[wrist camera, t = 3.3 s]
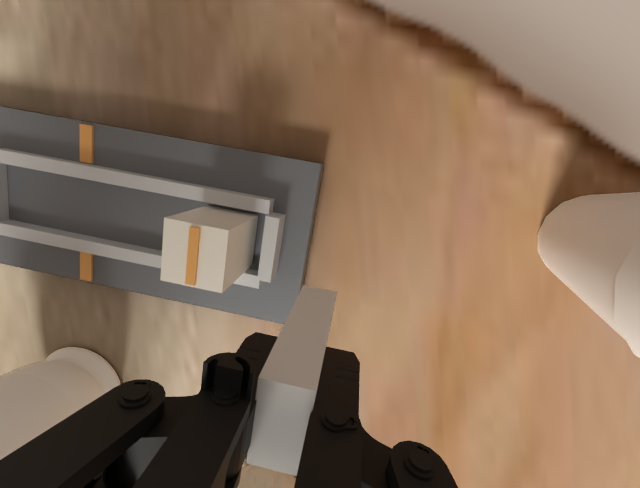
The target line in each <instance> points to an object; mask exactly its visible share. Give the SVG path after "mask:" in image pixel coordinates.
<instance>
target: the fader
mask: <svg viewBox="0 0 640 488" xmlns="http://www.w3.org/2000/svg"><path fill="white" fill-rule="evenodd" d="M257 223H258V215H255V214H250V213H245V212H239V211H234V210H229V209H224V208H219V207H213V206H208V205H207V206H204V207H200V208H197V209H193V210H189V211H186V212H182V213H179V214H175V215H172V216H168V217H164V226H163V243H162V260H161V277H160V280H161V281H166V282H171V283H176V284H180V285H185V286H190V287H194V288H199V289H204V290H209V291H213V292H218V293H223V292H224V291H225V290H226V289H227V288H228V287H229V286H230V285H231V284H232V283H234V282H235V281H236V280H237V279H238V278H239V277H240V276H241V275H242V274H243V273H244V272H245V271H246V270H247V269H248V268H250V267H251V266H252V262H253V254H254V246H255V239H256V231H257Z"/></svg>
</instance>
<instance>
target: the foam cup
mask: <svg viewBox="0 0 640 488" xmlns="http://www.w3.org/2000/svg"><path fill="white" fill-rule="evenodd" d="M537 236H538V253H539V255H540V256H541V258H542V260H543V262H544V263H545V265H546V267H548V268H549V269H550V271H551V272H552V273H554V274H555V275H556V276H557V277H558V278H559V279H560V280H561V281H562V282H563V283H564V284H565V285H566V286H568V287H569V288H570V289H571V290H572V291H573V292H574V293H575V294H576V295H577V296H578V297H579V298H581V299H582V300H583V301H584V302H585V303H586V304H587V305H588V306H589V307H590V308H591V309H592V310H593V311H595V312H596V313H597V314H598V315H599V316H600V317H601V318H602V319H603V320H604V321H605V322H606V323H608V324H609V325H610V326H611V327H612V328H613V329H614V330H615V331H616V332H617V333H618V334H619V335H620V336H622V337H623V338H624V339H625V340H626V341H627V343H628V345H629V346H630V348H631V350H632V352H633V353H634V354H635V355H636V356H638V357H639V358H640V192H631V193H614V194H596V195H587V196H580V197H577V198H574V199H571V200H568V201H565V202H562V203H561V204H560V205H558V206H557V207H556V208H555V209H554V210H553V211H551V212H550V213H549V214H548V215H547V216H546V217H545V219H544V221H543V223H542V225H541V227H540V230H539V232H538V234H537Z"/></svg>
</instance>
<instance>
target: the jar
mask: <svg viewBox="0 0 640 488" xmlns="http://www.w3.org/2000/svg"><path fill="white" fill-rule="evenodd" d="M119 385H121V384H120V380H119V378H118V376H117V374H116V372H115V370H114V369H113V368H112V366H111V365H110V364H109V363H108V362H107V361H106V360H105V359H104V358H102V357H101V356H99V355H98V354H96V353H94V352H92V351H90V350H87V349H84V348H79V347H66V348H61V349H58V350H56V351H54V352H53V353H51V354H50V355H49V356H48V357H47V358H46V359H45V360H44V362H38V363H34V364H30V365H27V366H24V367H21V368H18V369H16V370H13V371H11V372H9V373H6V374H4V375H2V376H0V460H1V459H2V458H4V457H6V456H7V455H9V454H10V453H12V452H13V451H15V450H17V449H18V448H20V447H21V446H23V445H25V444H26V443H28V442H29V441H31V440H32V439H34V438H36V437H37V436H39V435H40V434H42V433H43V432H45V431H47V430H48V429H50V428H51V427H53V426H54V425H56V424H58V423H59V422H61V421H62V420H64V419H66V418H67V417H69V416H70V415H72V414H73V413H75V412H77V411H78V410H80V409H81V408H83V407H84V406H86V405H88V404H89V403H91V402H92V401H94V400H96V399H97V398H99V397H100V396H102V395H103V394H105V393H107V392H108V391H110V390H111V389H113V388H114V387H116V386H119Z"/></svg>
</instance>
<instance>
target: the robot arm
mask: <svg viewBox="0 0 640 488" xmlns="http://www.w3.org/2000/svg"><path fill="white" fill-rule="evenodd" d="M336 295H337V292H334V291H330V290H325V289H320V288H315V287H310V286H306V285H303V286H302V288H301V290H300V293H299V295H298V297H297V299H296V301H295V303H294V305H293V307H292V309H291V311H290V313H289V315H288V317H287V319H286V321H285V323H284V325H283V328H282V330H281V332H280V334H279V336H278V337H276V336H271V335H266V334H262V333H257V332H255V333H254V334H252V335H250V336H249V337H247V338H245V340H244V341H243V343H242V344H241V346H240V348H239V349H238V350H237V352H236V353H229V352H228V353H220V354H216V355H214V356H211V357H209V358H208V359H207V360H206V361H204V362H203V373H202V384H201V391H200V392H199V393H198V394H197V395H193V396H186V397H165V391H164V388H163V386H161V385H160V384H159V383H157V382H155V381H151V380H133V381H129V382H125V383H123V384H121V385H119V386H116V387H114V388H113V389H111V390H110V391H108V392H107V393H105V394H103V395H102V396H100V397H99V398H97V399H96V400H94V401H92V402H91V403H89V404H88V405H86V406H84V407H83V408H81V409H80V410H78V411H77V412H75V413H73V414H72V415H70V416H69V417H67V418H66V419H64V420H62V421H61V422H59V423H58V424H56V425H54V426H53V427H51V428H50V429H48V430H47V431H45V432H43V433H42V434H40V435H39V436H37V437H36V438H34V439H32V440H31V441H29V442H28V443H26V444H25V445H23V446H21V447H20V448H18V449H17V450H15V451H13V452H12V453H10V454H9V455H7V456H6V457H4V458H2V459H1V460H0V488H237V487H238V485H239V482H240V476H241V469H242V464H243V462H244V459H245V457H246V454H247V460H246V463H247V464H251V465H255V466H259V467H262V468H266V469H270V470H274V471H278V472H282V473H286V474H290V475H294V476H296V481H295V485H294V488H458V487H457V485H456V483H455V481H454V479H453V477H452V475H451V473H450V471H449V469H448V467H447V465H446V464H445V463H444V461H443V460H442V458H441V457H440V456H439V455H438V454H437V453H435V452H434V451H433V450H432V449H431V448H429V447H427V446H425V445H423V444H421V443H418V442H413V441H404V442H399V443H398V444H396V445H395V446H393V449H391V448H389V447H388V446H386V445H384V444H382V443H380V442H378V441H377V440H375V439H374V438H372V437H371V436H370V435H369V434H368V433H367V432H366V431H365V430H364V428H363V427H362V425H361V422H360V419H359V415H358V412H359V371H360V362H359V361H358V359H357V357H356V355H355V354H354V353H353V352H348V351H344V350H339V349H335V348H330V347H326V346H327V341H328V336H329V330H330V325H331V320H332V315H333V310H334V305H335V300H336ZM247 452H248V453H247Z"/></svg>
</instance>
